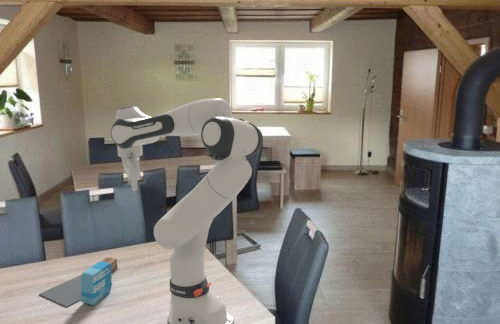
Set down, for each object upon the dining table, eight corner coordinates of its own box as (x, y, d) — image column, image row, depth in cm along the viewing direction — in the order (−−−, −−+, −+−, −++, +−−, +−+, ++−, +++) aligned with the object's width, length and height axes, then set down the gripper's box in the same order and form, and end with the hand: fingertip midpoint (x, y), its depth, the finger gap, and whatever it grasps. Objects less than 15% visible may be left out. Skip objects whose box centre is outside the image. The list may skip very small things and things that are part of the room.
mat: (112, 284, 165) (112, 283, 165) (66, 307, 149) (66, 306, 148) (85, 274, 174) (85, 273, 174) (39, 294, 158) (39, 293, 158)
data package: (91, 307, 149) (91, 276, 146) (80, 304, 150) (80, 273, 147) (111, 290, 160) (111, 262, 157) (101, 288, 161) (101, 259, 158)
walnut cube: (117, 269, 178) (116, 258, 177) (111, 274, 173) (110, 263, 173) (107, 268, 179) (106, 257, 178) (100, 273, 175) (99, 262, 174)
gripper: (143, 154, 146) (145, 193, 149) (135, 146, 165) (137, 180, 167) (124, 156, 144) (127, 195, 147) (118, 147, 162) (120, 181, 165)
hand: (132, 187), depth 157 cm, fingers open, 8 cm apart
